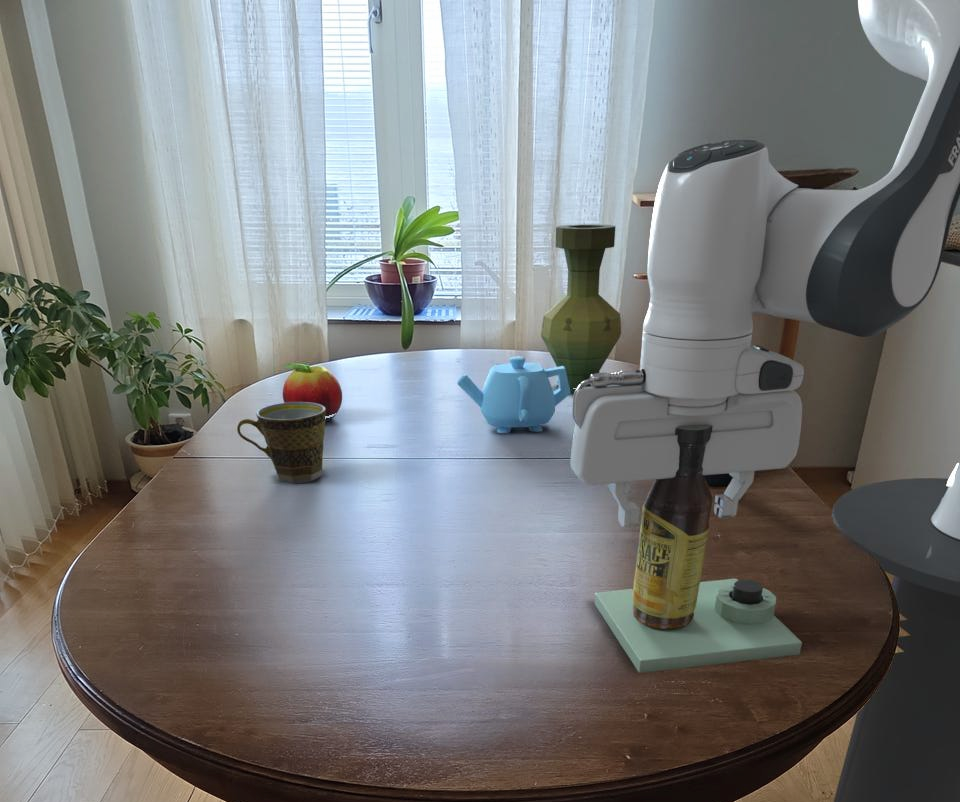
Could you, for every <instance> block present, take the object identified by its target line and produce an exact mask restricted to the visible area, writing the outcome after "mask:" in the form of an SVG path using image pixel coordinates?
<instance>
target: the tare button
mask: <svg viewBox="0 0 960 802" xmlns="http://www.w3.org/2000/svg"><path fill="white" fill-rule="evenodd" d="M763 588H764V587H763V585H762V583H760V582H758V581H756V580H750V579H740V580H739V579H738V581H736V582H735V583H734V585H733V591H732V600H733V601H736V602H738V603H741V604H748V605H752V604H759V603H760V601H761V596H762V590H763Z"/></svg>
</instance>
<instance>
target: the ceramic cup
mask: <svg viewBox="0 0 960 802" xmlns="http://www.w3.org/2000/svg"><path fill="white" fill-rule="evenodd" d="M255 415H256V418H257V420H254V419H250V418H244V419H241V420H240V421H238V424H237V427H236V432H237V434H238V435H239V436H240V438H242V439H243V440H244V441H246V442H248V443H250V444H252V445H253V446H255V447H256V448H257V449H259V451H262V452H263V453H264V454H266V456H267V457H268V458H269V459H270V460H271V462H272V464H273V467H274V469H275V473H276V475H277V478H278V481H279V482H283V483H287V484H288V483H289V484H301V483H310V482H313V481H314V480H317V479H318V478H321V477H322V476H323V460H324V458H323V457H324V440H325V432H326V422H325V416H326V411H325V407H324V406H322V405H320V404H316V403H310V402H289V403H284V402H281V403H275V404H271V405H267V406H264V407H262V408H259V409H258V410H257V411H256V412H255ZM245 424H249V425H252V427H255V428H256V429H257V431H258V432H259V433H260V434H261V435H262V436H263V438H264V441H265V444H266V447H262V446H260V445H259V444H258V443H257V442H255V441H254V440H252V439H250V438H249V437H247V436H245V435H243V434H242V432H241V427H242V426H243V425H245Z"/></svg>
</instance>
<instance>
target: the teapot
mask: <svg viewBox="0 0 960 802" xmlns="http://www.w3.org/2000/svg"><path fill="white" fill-rule="evenodd" d="M556 376H557V382H558V384H559V388H558V389H555V390H553V387H552V384H551V381H550V379H549V378H551V377H556ZM456 384H457V386H459V387H460V389H462V391H463V392H464V393H465V394H467V396H468V397H469V398H470V399H471V400H472V401H473V402H474V403H476V405H477V406H478V407H479V410H480V413H481V414H482V416H483V418H484V420H485V421H486V422H487V423H488V424H490V425H491V426H494V427H498V428H497V431H496V432H497V433H499V434H508V433H509V434H510V433H511V431H512V428H526V427H528V430H529V432H542V431H543V427H542V426H543V425H546V424H548V423H549V422H550V421H551V419H552V417H554V414H555V412H556V406H558V405H559V404H560V403H561V402H562V401H563V400H565V399H566V398H567V397H569V396H570V395H571V392H570V388H569V383H568V379H567V374H566V370H565V367H564V366H560V367H557V366H554V367H547V368H544V367H543V366H542V365H540V364H539V363H535V362H526V357H524V356H511V357H510V358H509V362H507V363H498V364H495V365H493V366H492V367H491V369H490V370H489V372H488V375H487V377H486V379H485V382H484V384H483V386H482V389H480V388H479V387H478V386H477V385H476V384H475V382H474V381H473V380H472V379H471V378H470V377H469V376H468V374H464V375H462V376H461V377H460V378H459V379H458V380H457V382H456Z"/></svg>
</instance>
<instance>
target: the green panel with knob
mask: <svg viewBox="0 0 960 802" xmlns="http://www.w3.org/2000/svg"><path fill="white" fill-rule="evenodd" d="M736 581H739V579H737V578H728V579H727V578H726V579H715V580H706V581H700V585H699V591H698V597H697V603H696V608H695V610H694V617H693V619H692V621H691V622H690V623H688V625H685V626H684V627H681V628H676V629H661V630H659V629H654V628H651V627H650V626H647V625H645V624H643V623H641V622H639V621H638V620H637V619H636V618H635V617H634V614H633V600H632V596H633V588H628V589H618V590H607V591H606V590H605V591H599V592H598V591H596V592H594V601H593V603H594V606H595V607H596V609H597V610H598V612H599V613H600V615H601V616H602V618H603V620H604V621H605V623H606V624H607V626H608V627H609V629H610V630H611V632H612V633H613V635H614V637H615V638H616V640H617V641H618V643H619V645H620V646H621V647H622V649H623V650H624V652H625V654H626V655H627V657H628V658H629V660H630V661H631V663H632V664H633V666H634V667H635V669H636V671H637V672H638V673H639V674H645V673H653V672H663V671H672V670H680V669H689V668H696V667H706V666H713V665H714V666H715V665H724V664H731V663H732V664H733V663H741V662H748V661H749V662H750V661H759V660H765V659H766V660H767V659H774V658H775V659H776V658H782V657H783V658H784V657H792V656H800V654H801V649H802V645H803V642H802V641H801V640H800V638H798V637H797V636H796V635H795V634H794V633H793V632H792V631H791V630H790V628H788V627H787V626H786V625H785V624H784V623H783V622H782V621H781V620H780V619H778V618H777V616H775V610H776V605H777V596H776V595H775V594H774V593H772V592H771V590H770V589H767V588H764V587H763V590H762V596H761V601H760V603H759V604H752V605H748V604H741V603H738V602H736V601H733V600H732V591H733V585H734V583H735V582H736Z"/></svg>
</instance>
